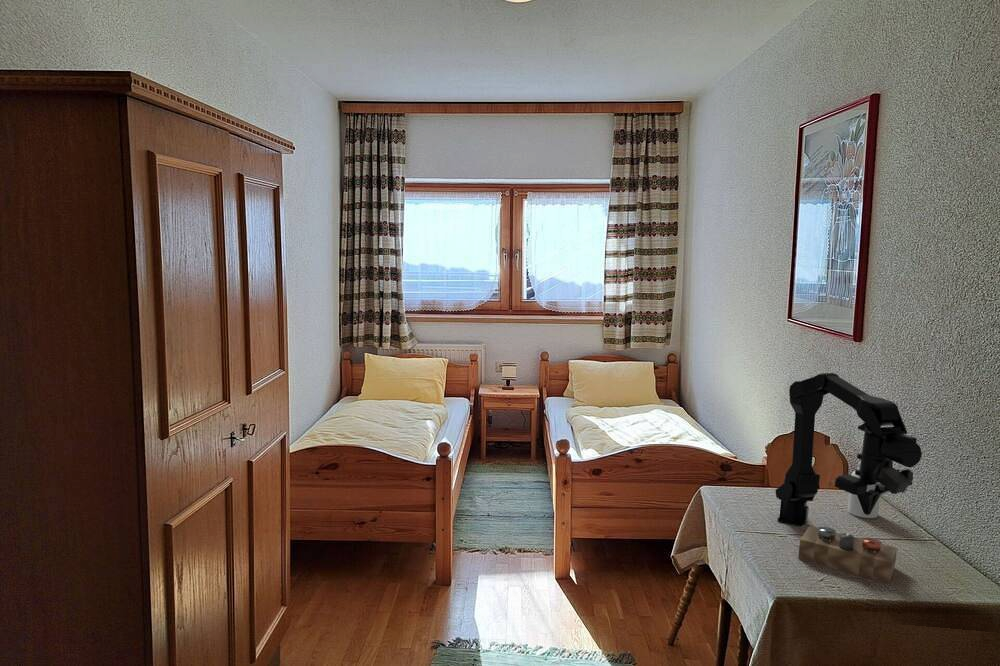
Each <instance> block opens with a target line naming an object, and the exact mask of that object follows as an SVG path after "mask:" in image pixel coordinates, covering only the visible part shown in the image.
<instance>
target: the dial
mask: <svg viewBox="0 0 1000 666" xmlns="http://www.w3.org/2000/svg"><path fill="white" fill-rule="evenodd" d="M840 534H841V535H840V543H839V547H840V548H841V549H843V550H847V551H851V550H853V544H854V538H855V536H854V535H852V534H850V532H846V533H840Z"/></svg>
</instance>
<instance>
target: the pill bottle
mask: <svg viewBox="0 0 1000 666" xmlns="http://www.w3.org/2000/svg"><path fill="white" fill-rule="evenodd" d="M860 462H861V460H859V461H858V463H857V468H856V470H860ZM851 475H852V476H854V477H857V478H860V476H858V475H856V474H855V470H854V471H852V473H851ZM847 502H848V503H847V510H848V511H847V512H848V513H849V514H851V515H853V516H855V517H857V518H863V519H875V518H877V517H878V516H879V514H880V513H879V512H880V503H881V496H880V497H879V499H878V500H877V502H876V504H875V506H874V508H873V510H872V511H871V513H870V515H866V514H864V512H863V510H862V507H861V504H860V502H859V499H858V497H857V495H854V494H851V493H849V492H848V501H847Z"/></svg>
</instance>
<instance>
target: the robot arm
mask: <svg viewBox="0 0 1000 666" xmlns="http://www.w3.org/2000/svg"><path fill="white" fill-rule="evenodd" d="M788 392H789V393H788V394H789V395H788V396H789V403H790V406H791V407H792V409H793V411H794V430H793V431H794V432H793V447H792V463H791V465H790V467H789V468H788V470H787V472H786V473H785V477H784V481H783V484H781V485H780V486H778V487H777V488H776V489H775V496H776V499H778V500H780V508H779V517H778V518H777V522H780V523H784V524H790V525H793V526H796V527H800V526H802V527H803V526H804V524H806V523H807V522H808V518H809V510H810V509H809V508H810V507H809V505H808V502H813V501H814V499H815V497H816V495H817V493H818V491H819V490H820V489H821V487H820V481H821V480H820V479H821V476H820V474H819V473H816V472H815V470H814V469H815V468H813V458H814V457H813V456H814V455H813V453H814V441H815V438H814V437H815V423H816V422H815V421H816V414H817V412H818V411H819V410H820V408H821V407H822V405H823V401H824V396H826V395H829V394H830V395H832V396H833V397H834V398H836V399H838V400H840V401H842V402H843V403H844V404H846V405H847V406H849V407H850V408H852V409H854V410H855V411H856V415H857V417H858V418H859V419H860V420H862V422H863V423H862V424H860V425H858V426H857V429H858V430H860V431H862V432H864V434H863V441H862V448H861V453H857V457H856V458H857V459H859V460H860V461H861V462H860V470H858V469H855V470H854V471H855V474H856V475H858V476H860V478H857V477H854V476H852V474H844V475H839V476H837V477H835V479H834V487H835V488H837V489H839V490H842V491H844V492H846V493H848V494H849V493H851V494H854V495H857V497H858V499H859V502H860V504H861V507H862V510H863V512H864V514H866V515H870V513H871V511H872V510H873V508H874V506H875V504H876V502H877V500H878V499H879V497H880V498H881V496H882V495H884V494H885V493H888V492H889V493H891V494H892V495H893V494H894V495H896V494H898V493H905V492H906V490H907V489H908V487H909V486H913V484H914V483H913V481H914V472H913V471H912V470H910V469H909V468H913V467H915V466H916V465H918V463H920V461H921V458H922V455H923V452H922V449H921V446H920V445H919V444H918V443H917V442H918V441H917V437H914V436H910V435H907V434H908V430H907V428H906V425H905V423H904V421H903V418H902V415H901V414H900V411H899V407H898V405H897V404H896V403H895V402H893V401H891V400H888V399H885V398H882V397H877V396H873V395H869V394H868V393H867V392H864V391H862V390H861V389H860V388H858V387H856V386H855V385H853V384H851V383H850V382H849V381H846V380H844V379H843V378H842V377H840V376H839V375H838V374H837V373H834V372H821V373H819V374H817V375H815V376H812V377H809V378H807V379H803V380H798V381H797V380H796V381H794V382H793V383H792V384H790V386H789V390H788ZM894 462H895V463H897V464H899V465H902V466H904V467H906V468H907V469H902V470H900V468H899V469H896V468H894V467H893V464H894Z"/></svg>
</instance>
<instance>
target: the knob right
mask: <svg viewBox="0 0 1000 666" xmlns="http://www.w3.org/2000/svg"><path fill="white" fill-rule="evenodd" d="M862 540H863V541H862V547H863V548H865V550H866V551H870V552H874V553H876V551H880V550H881V544H882V542H881V540H879V539H876V538H873V537H863V538H862Z"/></svg>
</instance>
